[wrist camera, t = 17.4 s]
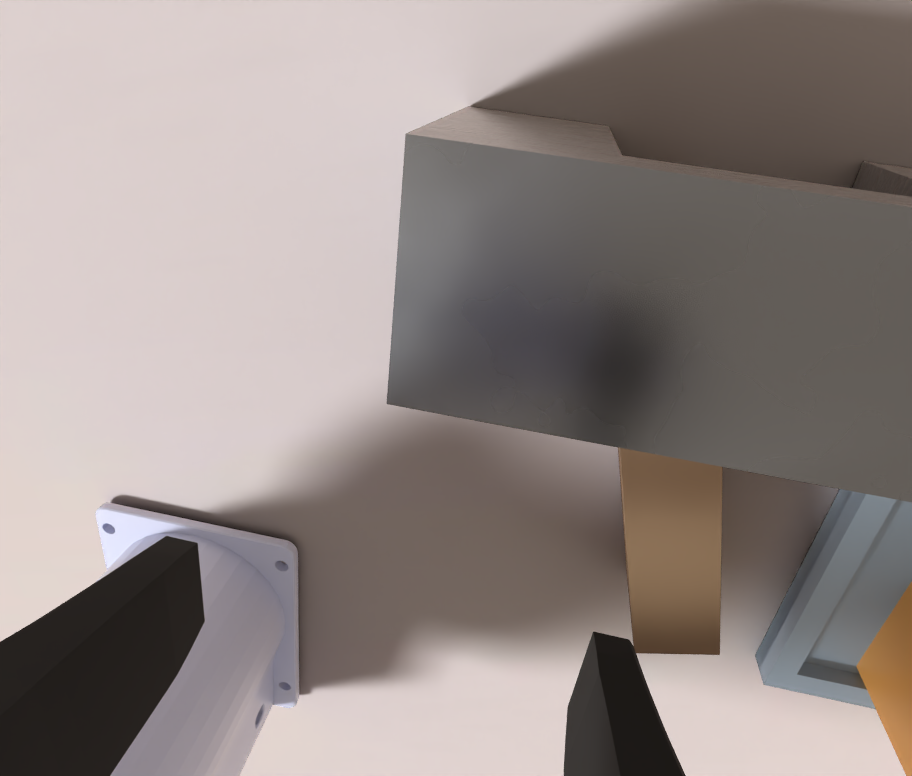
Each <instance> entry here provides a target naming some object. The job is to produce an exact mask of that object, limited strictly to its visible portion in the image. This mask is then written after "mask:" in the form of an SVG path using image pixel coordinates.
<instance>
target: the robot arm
mask: <svg viewBox="0 0 912 776" xmlns="http://www.w3.org/2000/svg"><path fill="white" fill-rule="evenodd" d="M96 519H97V524H98V529H99V534H100V539H101V543H102V548H103V553H104V558H105V563H106V568H107V570H106V571H105V573H104V574H103V575H102V576H101V577H100V578H99V579H98V580H97V581H96V582H95V583H94V584H92V585H91V586H89V587H88V588H86V589H85V590H83V591H82V592H80V593H79V594H77V595H75V596H74V597H72V598H71V599H69V600H68V601H66V602H64V603H63V604H61V605H60V606H58V607H57V608H55V609H54V610H52V611H50V612H49V613H47V614H46V615H44V616H43V617H41V618H39V619H38V620H36V621H35V622H33V623H31V624H30V625H28V626H26V627H25V628H23V629H21V630H20V631H18V632H16V633H15V634H13V635H11V636H9V637H8V638H6V639H4V640H3V641H1V642H0V776H239V775H240V773H241V771H242V769H243V766H244V764H245V762H246V760H247V758H248V756H249V754H250V752H251V749H252V747H253V745H254V743H255V741H256V739H257V737H258V735H259V733H260V730H261V728H262V726H263V724H264V722H265V720H266V718H267V716H268V713H269V711H270V709H271V707H272V705H277V706H281V707H286V708H291V707H294V706H295V705H296V704H297V701H298V699H299V620H298V551H297V548H296V547H295V545H294V544H293V543H291V542H290V541H287V540H284V539H279V538H274V537H269V536H265V535H260V534H255V533H251V532H246V531H241V530H236V529H232V528H227V527H222V526H218V525H213V524H208V523H203V522H199V521H194V520H189V519H185V518H180V517H175V516H170V515H166V514H161V513H156V512H152V511H147V510H142V509H137V508H133V507H128V506H123V505H119V504H114V503H104V504H102V505H101V506H100V507H99V508H98V509H97V511H96ZM282 561H283V562H285V563H286V564H285V563H283V562H282ZM564 776H685V774H684V771H683V769H682V767H681V765H680V762H679V760H678V758H677V756H676V754H675V751H674V749H673V747H672V745H671V742H670V740H669V738H668V735H667V733H666V731H665V728H664V726H663V724H662V721H661V719H660V716H659V714H658V711H657V709H656V706H655V704H654V701H653V699H652V696H651V694H650V691H649V688H648V686H647V683H646V680H645V678H644V675H643V672H642V669H641V667H640V664H639V661H638V658H637V655H636V652H635V649H634V646H633V645H632V643H631V642H630V640H628V639H624V638H619V637H615V636H610V635H606V634H602V633H597V632H593V634H592V637H591V640H590V643H589V646H588V649H587V652H586V655H585V657H584V660H583V663H582V666H581V669H580V672H579V675H578V678H577V681H576V684H575V687H574V690H573V693H572V696H571V699H570V702H569V705H568V711H567V726H566V740H565V758H564Z"/></svg>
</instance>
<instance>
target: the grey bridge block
mask: <svg viewBox="0 0 912 776" xmlns="http://www.w3.org/2000/svg"><path fill="white" fill-rule="evenodd" d="M387 404H390V405H395V406H401V407H406V408H411V409H416V410H422V411H427V412H432V413H438V414H443V415H448V416H454V417H459V418H464V419H470V420H475V421H480V422H486V423H491V424H496V425H502V426H507V427H512V428H518V429H523V430H528V431H534V432H539V433H544V434H550V435H555V436H560V437H566V438H571V439H576V440H582V441H587V442H592V443H598V444H603V445H608V446H614V447H619V448H624V449H630V450H635V451H640V452H646V453H651V454H656V455H662V456H667V457H672V458H678V459H683V460H688V461H694V462H699V463H704V464H710V465H715V466H720V467H726V468H731V469H736V470H742V471H747V472H752V473H758V474H763V475H768V476H774V477H779V478H784V479H790V480H795V481H800V482H806V483H811V484H816V485H822V486H827V487H832V488H838V489H843V490H848V491H854V492H859V493H864V494H869V495H875V496H880V497H885V498H891V499H896V500H901V501H907V502H912V168H907V167H900V166H893V165H886V164H879V163H872V162H864V161H863V163H862V165H861V168H860V170H859V172H858V175H857V177H856V180H855V182H854V185H853V187H852V188H846V187H839V186H832V185H825V184H818V183H811V182H804V181H797V180H790V179H783V178H777V177H770V176H763V175H756V174H749V173H742V172H735V171H728V170H721V169H714V168H707V167H700V166H693V165H686V164H679V163H672V162H665V161H658V160H651V159H644V158H637V157H630V156H623V155H622V154H621V152H620V149H619V147H618V145H617V143H616V141H615V139H614V137H613V134H612V132H611V130H610V128H609V126H606V125H599V124H592V123H585V122H577V121H570V120H563V119H556V118H549V117H541V116H534V115H527V114H520V113H513V112H506V111H498V110H491V109H484V108H477V107H470V106H468V107H466V108H464V109H461V110H459V111H457V112H454V113H452V114H450V115H448V116H445V117H443V118H441V119H438V120H436V121H434V122H432V123H429V124H427V125H425V126H422V127H420V128H418V129H416V130H413V131H411V132H409V133H406V138H405V152H404V166H403V181H402V195H401V209H400V223H399V237H398V252H397V266H396V280H395V294H394V309H393V323H392V337H391V351H390V365H389V380H388V394H387Z"/></svg>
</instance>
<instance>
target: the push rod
mask: <svg viewBox="0 0 912 776" xmlns="http://www.w3.org/2000/svg"><path fill="white" fill-rule="evenodd" d="M618 454H619V469H620V483H621V497H622V512H623V526H624V541H625V555H626V569H627V581H628V592H629V602H630V613H631V623H632V634H633V645H634V649H635V652H636V653H658V654H707V655H720V600H721V535H722V471H723V467H720V466H715V465H710V464H704V463H699V462H694V461H688V460H683V459H678V458H672V457H667V456H662V455H656V454H651V453H646V452H640V451H635V450H630V449H624V448H619V447H618Z"/></svg>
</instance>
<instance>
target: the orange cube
mask: <svg viewBox="0 0 912 776" xmlns="http://www.w3.org/2000/svg"><path fill="white" fill-rule="evenodd" d="M856 667H857V669H858V671H859V673H860V676H861V678H862V680H863V682H864V684H865V686H866V689H867V691H868V693H869V695H870V697H871V700H872V702H873V704H874V706H875V708H876V710H877V713H878V715H879V717H880V719H881V721H882V723H883V726H884V728H885V730H886V732H887V734H888V737H889V739H890V741H891V743H892V745H893V747H894V750H895V752H896V754H897V756H898V758H899V761H900V763H901V765H902V767H903V769H904V771H905V774H906V776H912V582H911V583H910V585H909V586H908V588H907V589H906V591H905V592H904V594H903V595H902V597H901V598H900V600H899V601H898V603H897V604H896V606H895V608H894V609H893V611H892V612H891V614H890V615H889V617H888V618H887V620H886V621H885V623H884V624H883V626H882V627H881V629H880V630H879V632H878V634H877V635H876V637H875V638H874V640H873V641H872V643H871V644H870V646H869V647H868V649H867V650H866V652H865V653H864V655H863V656H862V658H861V659H860V661H859V663H858V664H857V666H856Z"/></svg>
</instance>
